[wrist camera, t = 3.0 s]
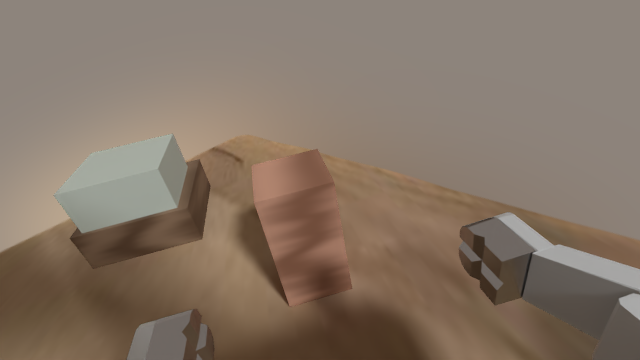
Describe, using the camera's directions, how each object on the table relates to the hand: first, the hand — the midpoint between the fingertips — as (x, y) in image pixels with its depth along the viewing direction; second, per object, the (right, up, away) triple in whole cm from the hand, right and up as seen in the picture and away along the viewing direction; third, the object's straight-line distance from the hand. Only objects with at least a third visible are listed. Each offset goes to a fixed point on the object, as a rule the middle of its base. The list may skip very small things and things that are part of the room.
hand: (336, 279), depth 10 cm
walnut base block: (-19, -2, +28) cm, 34 cm away
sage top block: (-20, +1, +25) cm, 32 cm away
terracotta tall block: (-1, -5, +17) cm, 18 cm away
